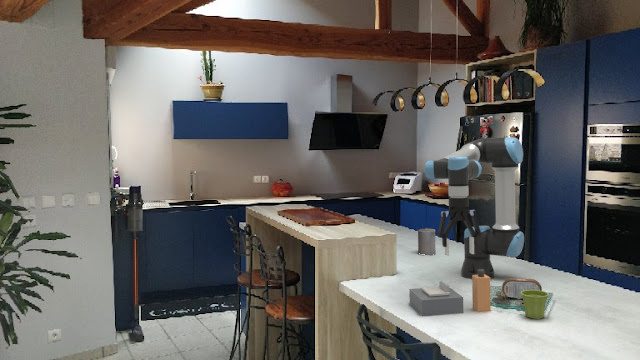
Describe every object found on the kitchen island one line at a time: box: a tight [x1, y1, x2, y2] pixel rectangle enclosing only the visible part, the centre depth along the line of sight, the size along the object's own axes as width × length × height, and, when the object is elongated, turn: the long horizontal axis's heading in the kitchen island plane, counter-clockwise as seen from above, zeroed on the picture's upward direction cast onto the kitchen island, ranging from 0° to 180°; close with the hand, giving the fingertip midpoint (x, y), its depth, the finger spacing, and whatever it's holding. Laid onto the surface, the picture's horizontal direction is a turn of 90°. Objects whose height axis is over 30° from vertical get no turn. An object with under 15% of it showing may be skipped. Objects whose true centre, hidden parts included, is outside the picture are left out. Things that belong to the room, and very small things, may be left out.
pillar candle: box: [417, 227, 436, 256], centre depth 317 cm, size 10×10×15 cm
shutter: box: [421, 280, 450, 296], centre depth 218 cm, size 8×10×3 cm
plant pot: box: [521, 290, 550, 320], centre depth 204 cm, size 9×9×9 cm
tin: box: [501, 277, 543, 298], centre depth 226 cm, size 15×3×8 cm, turn 71°
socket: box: [409, 286, 464, 317], centre depth 218 cm, size 16×16×6 cm
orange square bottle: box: [471, 269, 492, 313], centre depth 214 cm, size 5×5×16 cm
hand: (459, 254), depth 218 cm, fingers open, 9 cm apart
